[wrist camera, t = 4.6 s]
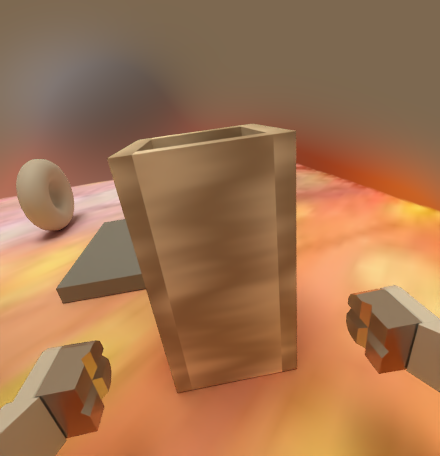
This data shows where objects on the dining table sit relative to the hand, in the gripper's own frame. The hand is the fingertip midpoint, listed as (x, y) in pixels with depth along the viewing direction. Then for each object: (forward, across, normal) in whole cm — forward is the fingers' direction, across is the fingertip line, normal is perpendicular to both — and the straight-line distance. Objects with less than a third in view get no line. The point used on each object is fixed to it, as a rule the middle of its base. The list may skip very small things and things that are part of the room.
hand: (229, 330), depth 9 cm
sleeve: (+6, 0, +6) cm, 9 cm away
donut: (+31, +21, +7) cm, 38 cm away
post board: (+19, +4, +6) cm, 21 cm away
